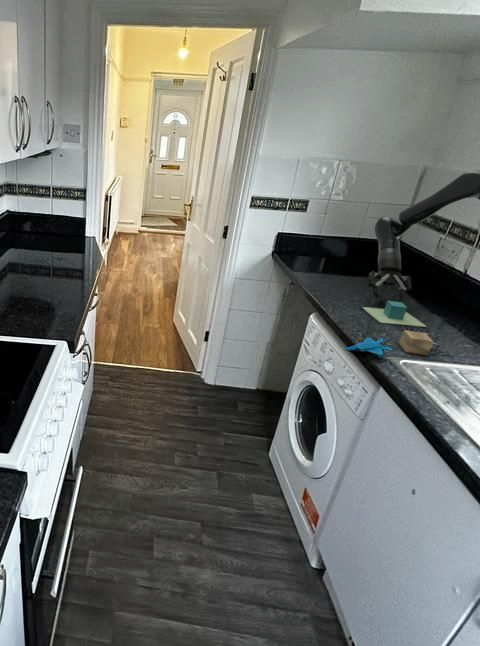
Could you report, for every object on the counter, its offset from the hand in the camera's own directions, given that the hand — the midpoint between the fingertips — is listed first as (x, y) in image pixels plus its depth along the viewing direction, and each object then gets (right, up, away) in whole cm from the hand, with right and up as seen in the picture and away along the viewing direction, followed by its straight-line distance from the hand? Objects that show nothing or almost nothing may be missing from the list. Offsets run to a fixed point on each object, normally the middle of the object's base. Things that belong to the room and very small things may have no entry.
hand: (389, 298), depth 161 cm
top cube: (-2, -7, -5) cm, 9 cm away
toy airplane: (-30, -18, -32) cm, 47 cm away
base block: (-12, -17, -28) cm, 35 cm away
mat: (-2, -7, -5) cm, 9 cm away
